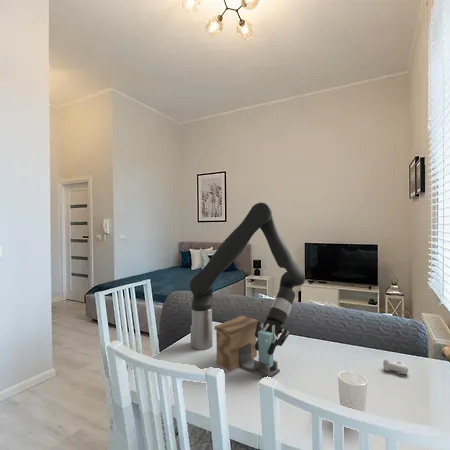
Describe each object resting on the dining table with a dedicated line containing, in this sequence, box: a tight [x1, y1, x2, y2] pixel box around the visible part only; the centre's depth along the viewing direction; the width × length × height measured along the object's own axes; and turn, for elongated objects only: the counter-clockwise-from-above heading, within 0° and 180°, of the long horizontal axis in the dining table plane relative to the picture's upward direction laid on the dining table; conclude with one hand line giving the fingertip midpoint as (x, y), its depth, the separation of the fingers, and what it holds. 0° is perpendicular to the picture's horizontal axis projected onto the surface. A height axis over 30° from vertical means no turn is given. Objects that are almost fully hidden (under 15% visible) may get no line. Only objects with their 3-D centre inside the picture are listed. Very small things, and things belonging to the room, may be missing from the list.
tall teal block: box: [257, 329, 274, 367], centre depth 107 cm, size 5×3×12 cm
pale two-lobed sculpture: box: [382, 358, 409, 375], centre depth 106 cm, size 4×8×5 cm
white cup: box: [337, 370, 368, 413], centre depth 84 cm, size 8×8×10 cm
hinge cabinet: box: [214, 315, 281, 378], centre depth 112 cm, size 22×17×15 cm
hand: (262, 351), depth 106 cm, fingers closed on tall teal block, 5 cm apart
